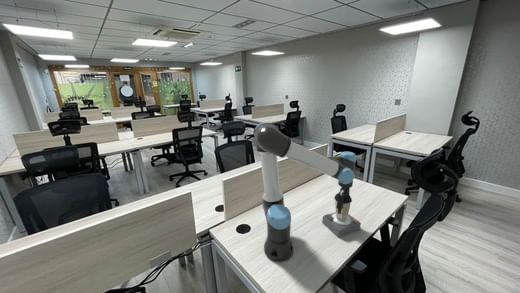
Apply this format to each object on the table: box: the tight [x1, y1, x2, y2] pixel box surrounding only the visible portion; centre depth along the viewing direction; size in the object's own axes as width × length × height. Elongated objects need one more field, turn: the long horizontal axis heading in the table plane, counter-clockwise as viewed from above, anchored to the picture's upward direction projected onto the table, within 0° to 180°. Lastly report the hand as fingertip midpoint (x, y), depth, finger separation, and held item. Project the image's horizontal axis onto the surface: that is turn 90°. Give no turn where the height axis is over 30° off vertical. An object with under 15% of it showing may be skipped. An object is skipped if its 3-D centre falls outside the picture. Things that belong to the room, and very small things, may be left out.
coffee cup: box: [333, 192, 353, 222], centre depth 120 cm, size 9×9×15 cm
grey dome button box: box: [321, 211, 362, 238], centre depth 122 cm, size 16×14×6 cm
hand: (341, 213), depth 121 cm, fingers open, 9 cm apart
